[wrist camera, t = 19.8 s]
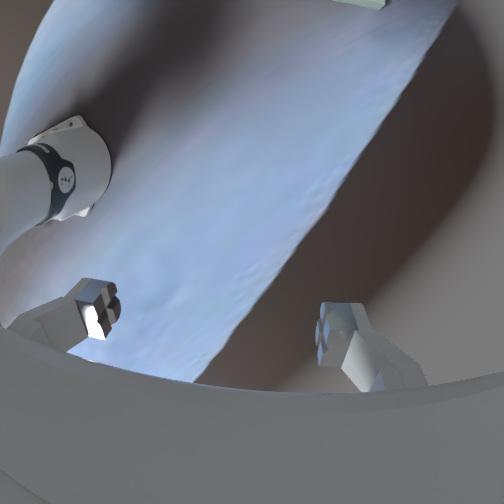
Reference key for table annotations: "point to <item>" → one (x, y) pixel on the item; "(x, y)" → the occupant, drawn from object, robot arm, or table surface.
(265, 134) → the table surface
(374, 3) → the tray
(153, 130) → the table surface
